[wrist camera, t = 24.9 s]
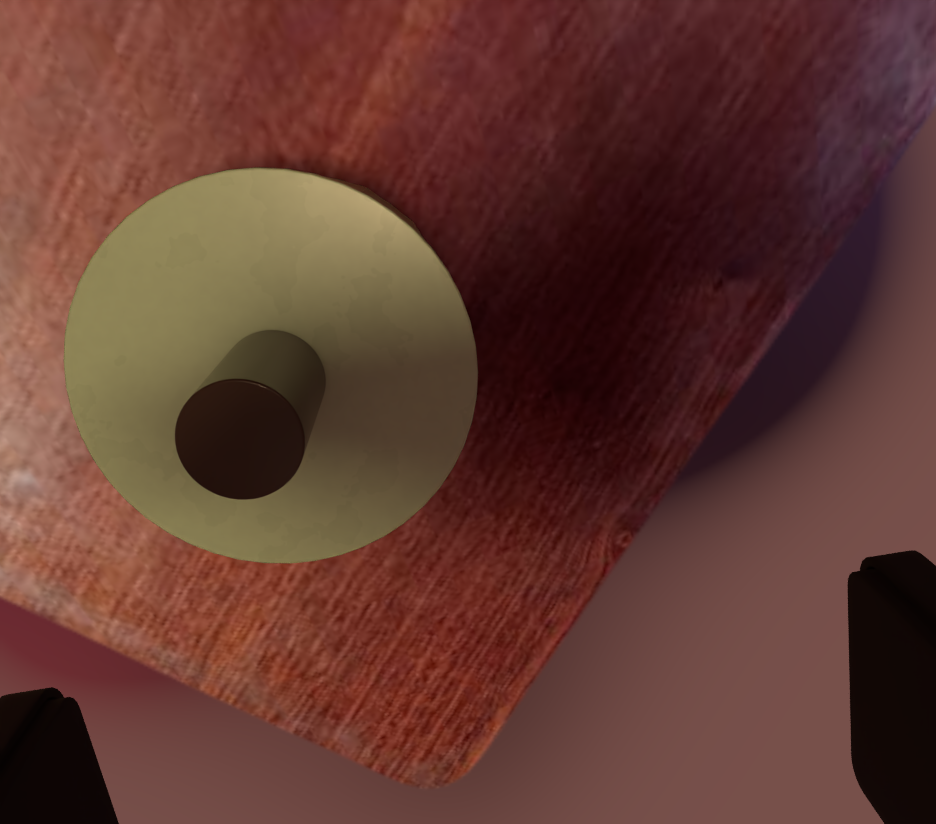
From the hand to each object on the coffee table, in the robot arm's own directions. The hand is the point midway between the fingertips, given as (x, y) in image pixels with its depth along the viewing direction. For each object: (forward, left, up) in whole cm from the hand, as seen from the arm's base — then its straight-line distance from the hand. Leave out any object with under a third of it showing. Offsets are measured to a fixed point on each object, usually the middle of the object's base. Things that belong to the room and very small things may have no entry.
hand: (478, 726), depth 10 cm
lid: (+5, -1, -17) cm, 17 cm away
